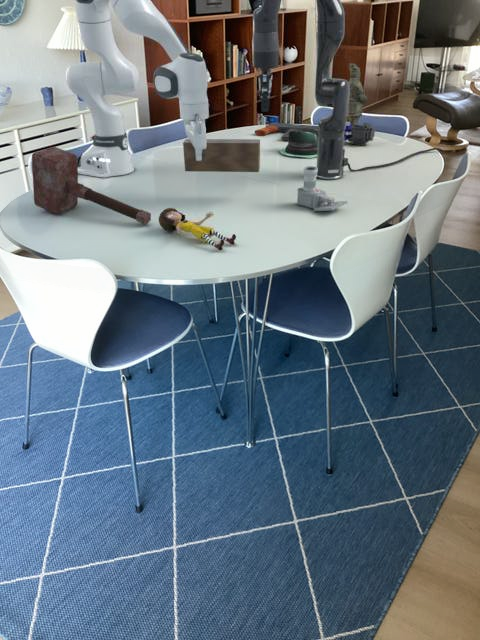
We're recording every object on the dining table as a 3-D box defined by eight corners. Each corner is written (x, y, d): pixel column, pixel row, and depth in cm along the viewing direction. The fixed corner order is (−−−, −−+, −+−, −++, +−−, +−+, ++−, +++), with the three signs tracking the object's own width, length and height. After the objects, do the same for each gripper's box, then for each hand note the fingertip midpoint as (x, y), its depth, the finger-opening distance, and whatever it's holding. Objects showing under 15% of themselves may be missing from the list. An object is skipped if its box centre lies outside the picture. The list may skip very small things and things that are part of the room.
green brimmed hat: (332, 145, 241) (326, 158, 224) (294, 164, 249) (286, 177, 233) (317, 113, 235) (310, 124, 219) (279, 133, 244) (269, 145, 228)
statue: (367, 132, 266) (374, 63, 251) (349, 133, 264) (355, 64, 249) (357, 127, 275) (362, 61, 260) (339, 129, 273) (344, 62, 258)
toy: (345, 120, 249) (377, 123, 242) (343, 139, 253) (375, 143, 246) (337, 123, 243) (369, 127, 236) (336, 143, 247) (367, 147, 240)
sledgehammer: (159, 186, 162) (53, 145, 173) (139, 196, 154) (29, 152, 166) (154, 239, 172) (54, 196, 183) (135, 250, 164) (32, 205, 176)
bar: (185, 171, 178) (182, 142, 173) (188, 167, 182) (186, 139, 178) (258, 172, 175) (258, 143, 171) (260, 167, 180) (260, 139, 175)
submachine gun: (248, 131, 260) (271, 121, 279) (248, 137, 261) (271, 127, 280) (310, 137, 246) (331, 126, 265) (310, 144, 248) (330, 132, 266)
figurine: (212, 239, 141) (145, 208, 153) (211, 265, 145) (145, 233, 157) (245, 224, 150) (179, 196, 162) (243, 249, 154) (178, 220, 166)
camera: (310, 163, 175) (350, 172, 167) (308, 199, 181) (347, 209, 173) (293, 169, 170) (334, 178, 161) (291, 206, 176) (331, 217, 167)
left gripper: (210, 117, 162) (212, 165, 170) (199, 105, 180) (201, 149, 187) (189, 119, 161) (191, 166, 168) (179, 106, 178) (182, 150, 186)
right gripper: (278, 51, 153) (277, 113, 161) (278, 46, 165) (278, 104, 173) (250, 52, 153) (251, 113, 162) (253, 47, 165) (254, 104, 174)
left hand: (196, 157), depth 178 cm, fingers closed on bar, 6 cm apart
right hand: (265, 108), depth 167 cm, fingers open, 8 cm apart
